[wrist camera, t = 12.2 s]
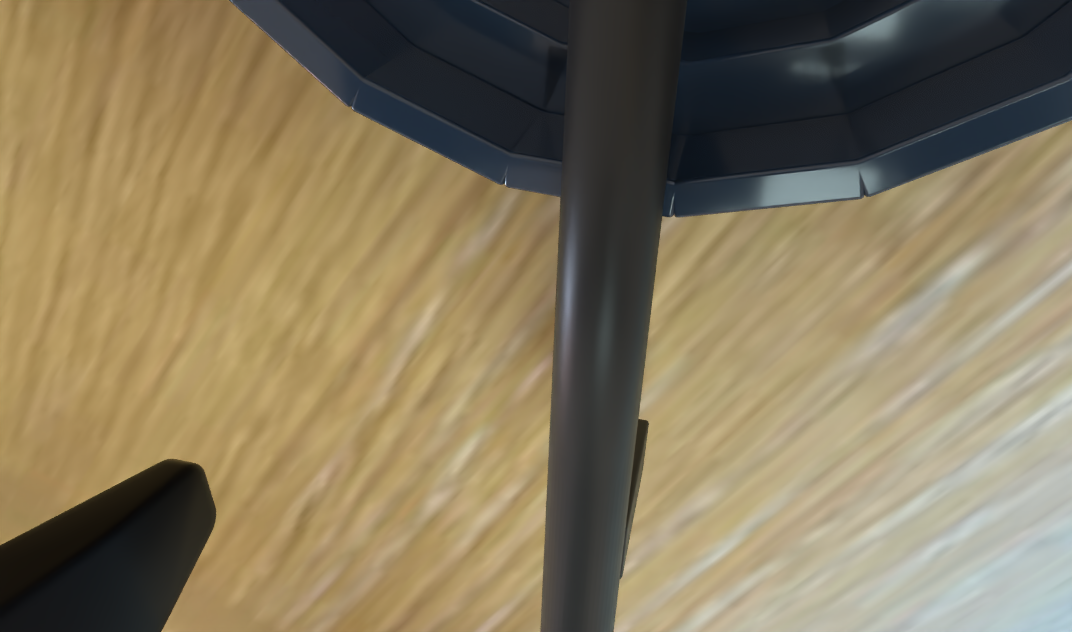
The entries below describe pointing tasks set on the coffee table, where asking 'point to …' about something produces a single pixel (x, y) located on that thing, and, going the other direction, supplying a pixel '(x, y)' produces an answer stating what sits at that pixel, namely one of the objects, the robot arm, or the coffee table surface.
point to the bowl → (706, 87)
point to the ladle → (605, 295)
